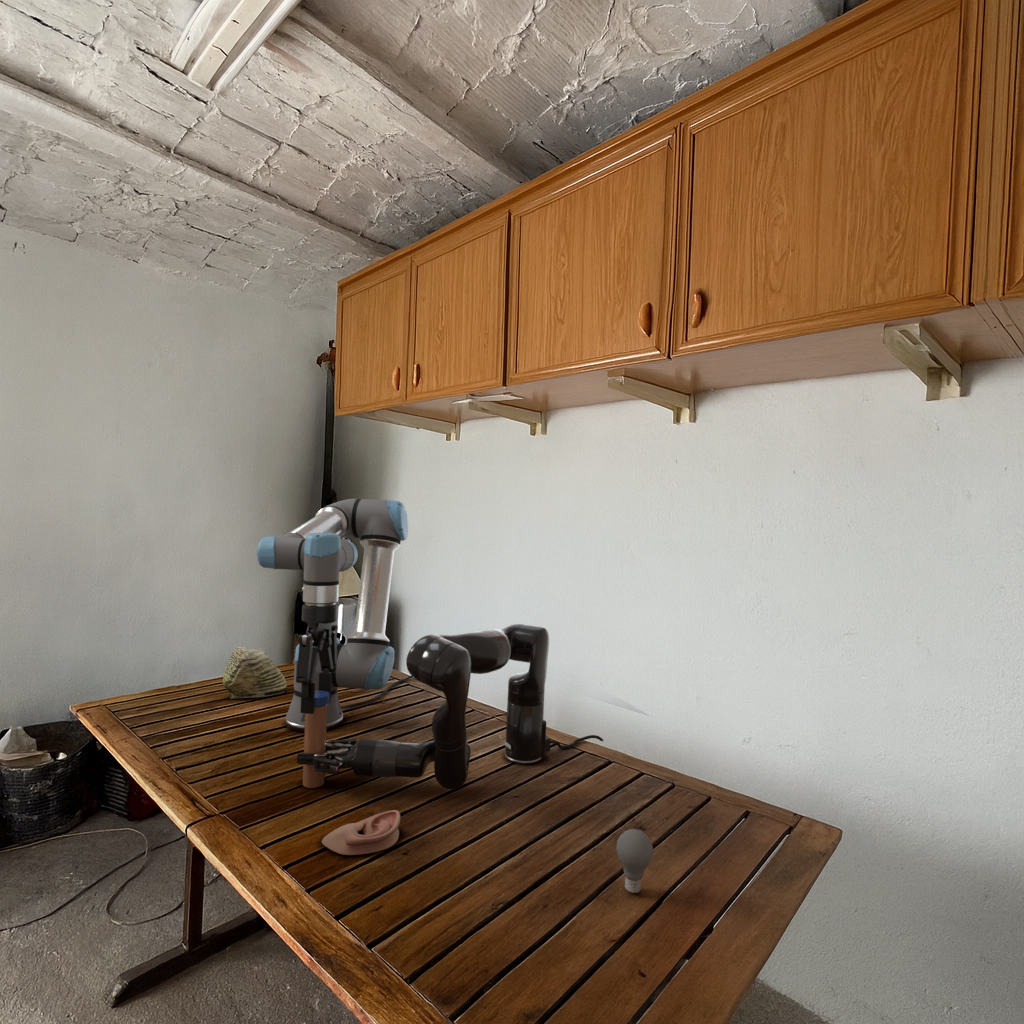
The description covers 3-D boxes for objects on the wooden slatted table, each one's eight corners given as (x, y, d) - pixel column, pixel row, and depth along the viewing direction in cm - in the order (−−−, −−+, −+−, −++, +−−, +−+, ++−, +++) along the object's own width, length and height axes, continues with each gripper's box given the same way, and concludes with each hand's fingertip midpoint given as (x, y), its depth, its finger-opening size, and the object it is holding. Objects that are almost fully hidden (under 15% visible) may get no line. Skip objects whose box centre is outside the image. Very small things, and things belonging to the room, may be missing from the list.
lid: (299, 702, 139) (299, 693, 139) (320, 697, 143) (321, 688, 143) (312, 708, 136) (312, 699, 136) (333, 703, 140) (334, 694, 140)
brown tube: (298, 783, 140) (301, 695, 139) (317, 776, 143) (320, 691, 143) (309, 790, 137) (313, 700, 136) (328, 783, 140) (331, 696, 140)
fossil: (218, 695, 195) (220, 647, 195) (278, 685, 208) (279, 640, 207) (228, 703, 189) (230, 653, 188) (289, 692, 201) (290, 645, 201)
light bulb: (610, 879, 108) (613, 822, 108) (644, 879, 109) (647, 822, 109) (619, 902, 102) (622, 840, 102) (655, 901, 103) (658, 840, 103)
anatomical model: (313, 828, 113) (343, 799, 125) (313, 850, 113) (342, 819, 125) (383, 839, 111) (407, 808, 122) (382, 862, 111) (406, 829, 122)
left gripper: (325, 596, 150) (321, 692, 150) (280, 609, 130) (275, 720, 130) (355, 598, 148) (351, 695, 149) (314, 611, 129) (309, 724, 129)
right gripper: (387, 729, 146) (314, 725, 147) (370, 754, 132) (290, 749, 133) (385, 761, 146) (313, 757, 147) (369, 789, 132) (288, 784, 133)
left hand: (316, 707), depth 139 cm, fingers open, 7 cm apart
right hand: (302, 753), depth 140 cm, fingers closed on brown tube, 4 cm apart
